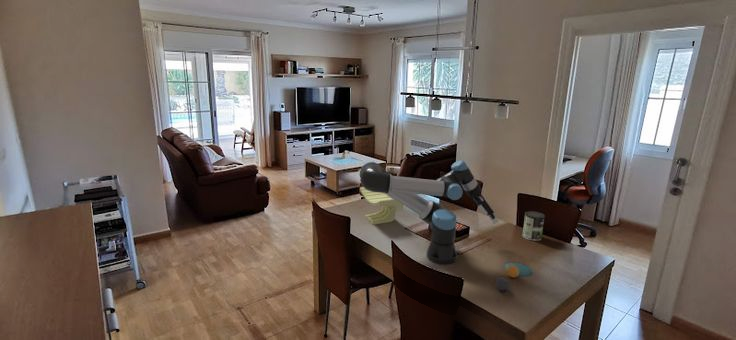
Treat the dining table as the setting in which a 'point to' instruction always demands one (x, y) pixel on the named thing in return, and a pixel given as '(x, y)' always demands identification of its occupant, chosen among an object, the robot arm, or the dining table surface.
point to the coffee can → (533, 225)
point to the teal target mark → (520, 269)
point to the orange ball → (512, 271)
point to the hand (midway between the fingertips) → (490, 218)
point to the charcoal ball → (502, 283)
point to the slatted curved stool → (387, 206)
